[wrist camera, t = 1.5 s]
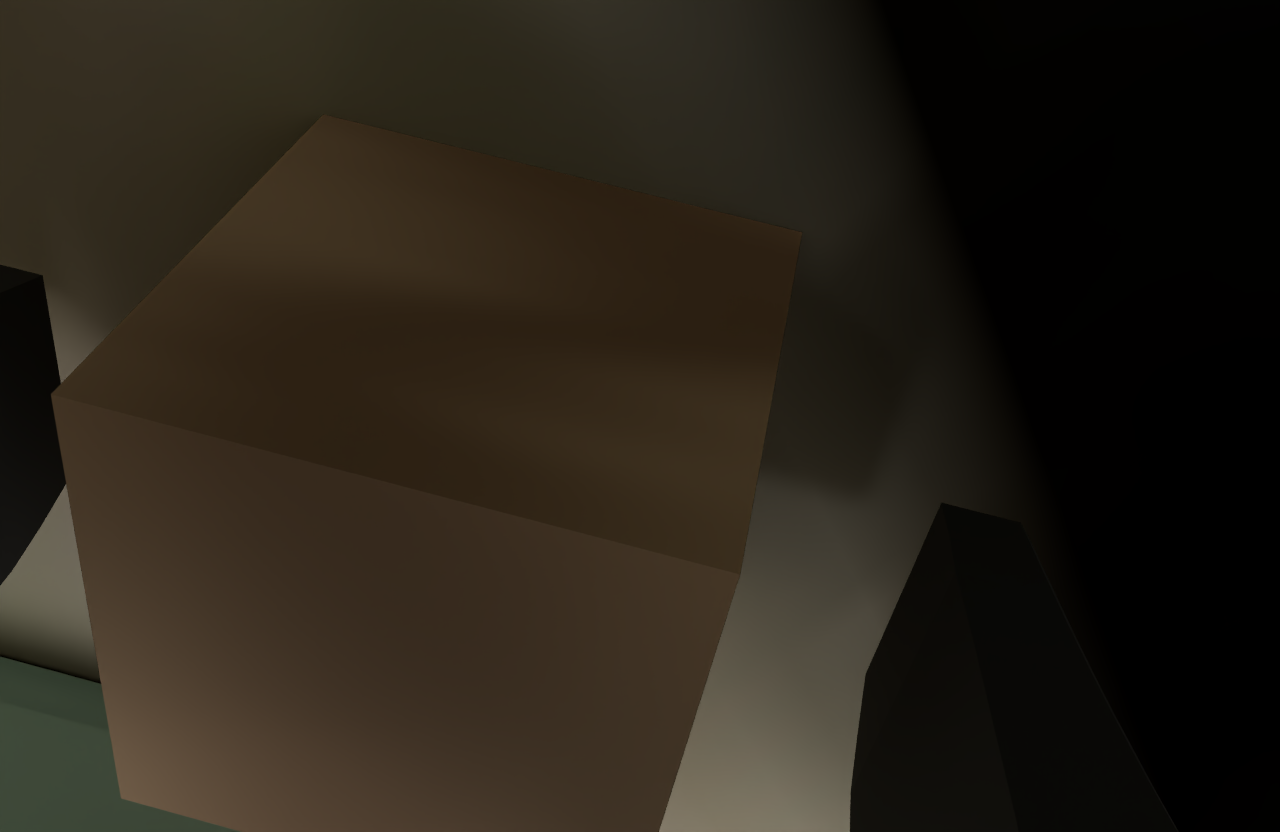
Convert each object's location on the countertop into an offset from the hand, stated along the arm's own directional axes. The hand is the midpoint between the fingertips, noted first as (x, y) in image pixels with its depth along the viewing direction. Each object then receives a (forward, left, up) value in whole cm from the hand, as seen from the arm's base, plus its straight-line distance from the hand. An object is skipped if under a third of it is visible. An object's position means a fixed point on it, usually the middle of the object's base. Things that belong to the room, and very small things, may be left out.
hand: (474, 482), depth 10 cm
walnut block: (0, 0, -2) cm, 2 cm away
